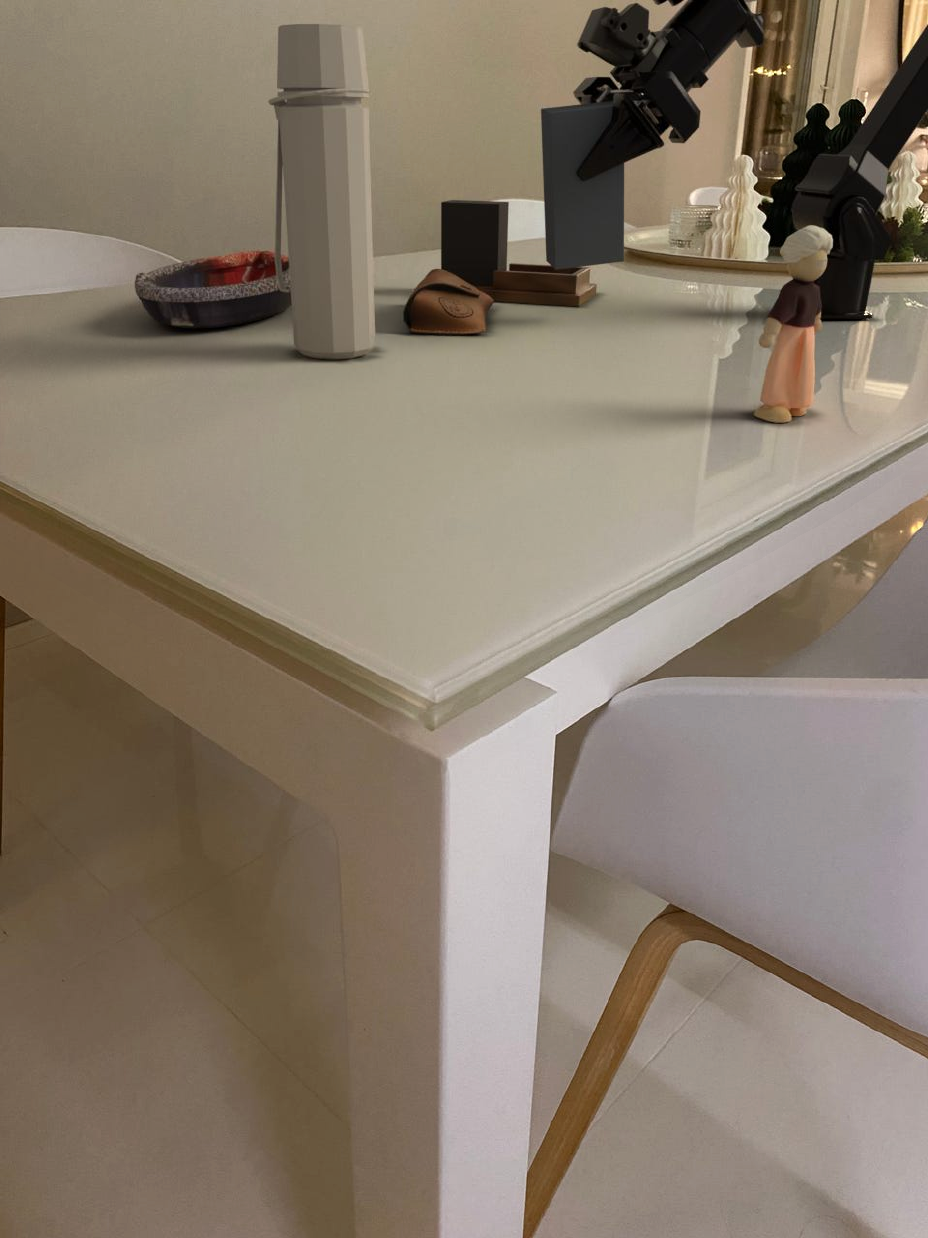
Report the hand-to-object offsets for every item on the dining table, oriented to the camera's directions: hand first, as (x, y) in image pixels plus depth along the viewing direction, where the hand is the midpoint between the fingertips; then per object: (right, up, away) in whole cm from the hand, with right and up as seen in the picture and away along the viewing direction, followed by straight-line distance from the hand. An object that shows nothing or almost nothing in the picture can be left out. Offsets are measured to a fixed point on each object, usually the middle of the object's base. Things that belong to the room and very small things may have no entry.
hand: (570, 175), depth 97 cm
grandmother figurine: (+13, -28, -24) cm, 39 cm away
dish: (-35, -10, +11) cm, 38 cm away
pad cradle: (-5, -4, +23) cm, 24 cm away
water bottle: (-23, -19, -7) cm, 30 cm away
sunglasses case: (-12, -11, +8) cm, 18 cm away
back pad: (+2, -7, +4) cm, 8 cm away
